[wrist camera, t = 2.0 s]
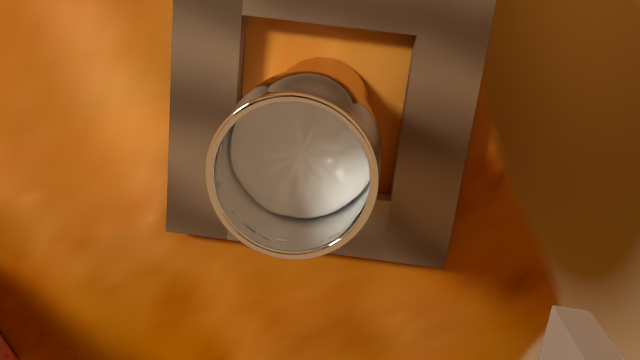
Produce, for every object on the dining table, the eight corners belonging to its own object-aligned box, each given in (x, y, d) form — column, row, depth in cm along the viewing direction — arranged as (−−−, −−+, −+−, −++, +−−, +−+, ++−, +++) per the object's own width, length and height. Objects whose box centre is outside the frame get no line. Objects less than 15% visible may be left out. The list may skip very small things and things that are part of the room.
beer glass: (245, 80, 36) (164, 136, 21) (348, 29, 34) (334, 52, 20) (296, 178, 37) (252, 291, 23) (396, 133, 36) (415, 223, 22)
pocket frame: (183, -66, 33) (175, -69, 32) (497, -31, 33) (503, -32, 31) (173, 222, 39) (166, 231, 38) (441, 258, 38) (444, 268, 37)
